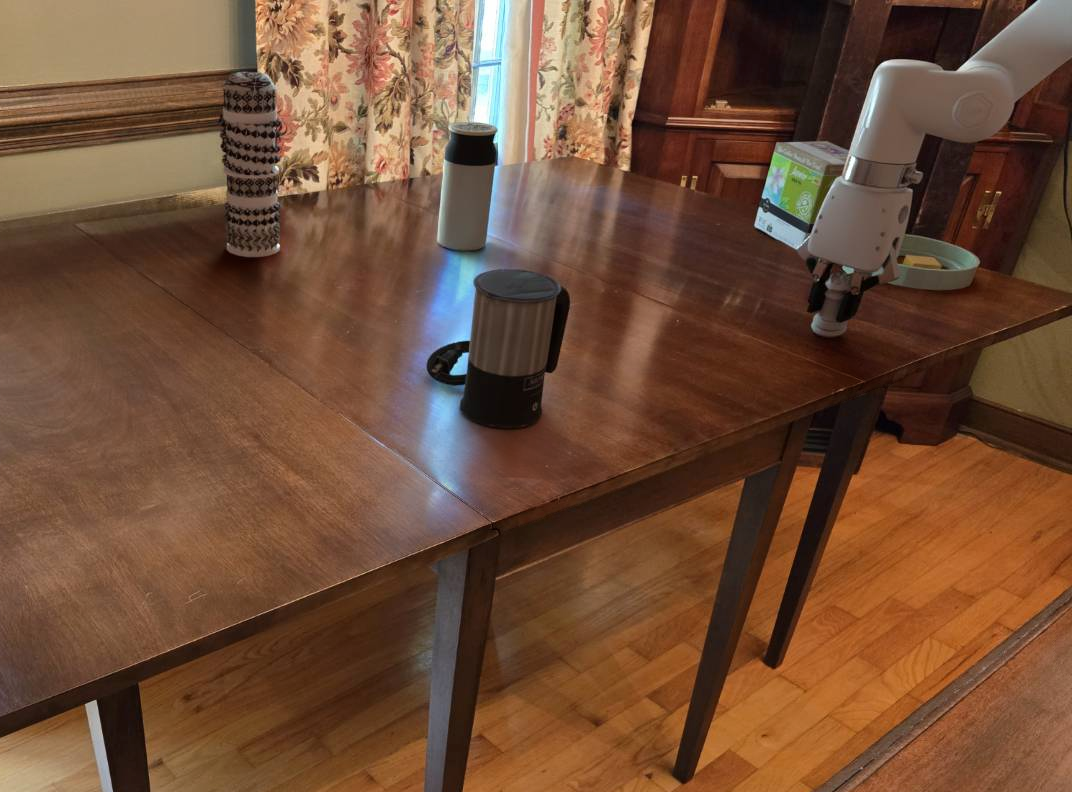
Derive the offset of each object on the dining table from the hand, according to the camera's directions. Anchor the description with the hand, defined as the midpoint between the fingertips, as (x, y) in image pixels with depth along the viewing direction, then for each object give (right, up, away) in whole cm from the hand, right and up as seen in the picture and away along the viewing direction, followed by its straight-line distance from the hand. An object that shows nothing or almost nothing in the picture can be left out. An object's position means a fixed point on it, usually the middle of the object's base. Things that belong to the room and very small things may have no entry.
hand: (829, 314), depth 128 cm
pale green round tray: (+23, +11, +22) cm, 34 cm away
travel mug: (-46, +18, +29) cm, 57 cm away
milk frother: (-49, -14, -17) cm, 54 cm away
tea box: (+13, +21, +37) cm, 45 cm away
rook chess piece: (+1, -2, +2) cm, 3 cm away
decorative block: (+22, +8, +18) cm, 29 cm away
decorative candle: (-79, +16, +23) cm, 84 cm away
